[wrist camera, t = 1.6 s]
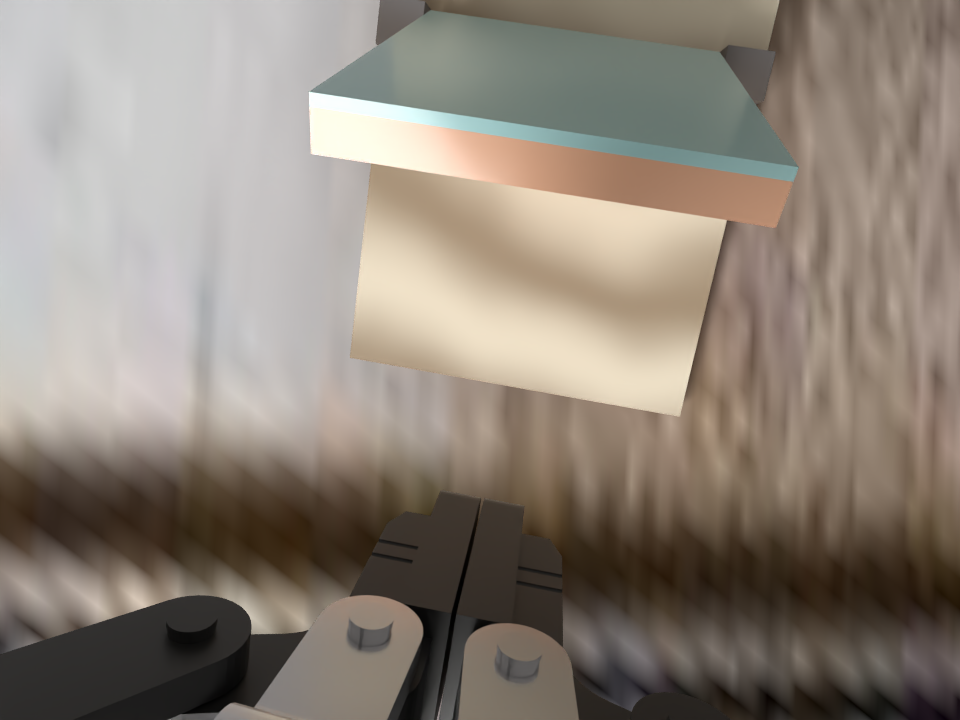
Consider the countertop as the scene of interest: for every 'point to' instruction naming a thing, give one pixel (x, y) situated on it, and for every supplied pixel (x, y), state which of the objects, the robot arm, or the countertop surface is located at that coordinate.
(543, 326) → the board
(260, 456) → the countertop surface
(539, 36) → the tile
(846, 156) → the countertop surface
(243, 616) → the robot arm
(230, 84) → the countertop surface
